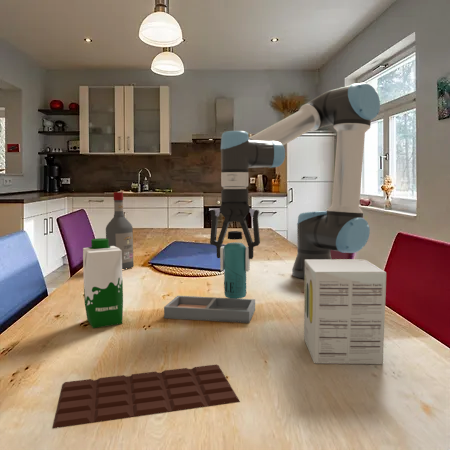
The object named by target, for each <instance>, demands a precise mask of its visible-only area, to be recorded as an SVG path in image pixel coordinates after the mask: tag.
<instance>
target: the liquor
mask: <svg viewBox="0 0 450 450" xmlns="http://www.w3.org/2000/svg"><path fill="white" fill-rule="evenodd" d="M123 200H124V192H123V191H114V192H113V207H114V209H113V211H114V212H113V213H114V214H113V217H112V219H111V220H110V221H109V222H108V223H107V225H106V227H105V238H106V239H108V241H109V246H115V247H117V248H119V249H120V250H122V269H126V268H131V267H133V268H134V265H135V264H134V234H133V230H134V228H133V225H132V224H131V222H130V221H129V220H128V219H127V218H126V217H125V213H124V201H123ZM131 269H132V268H131Z"/></svg>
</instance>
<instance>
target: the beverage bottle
mask: <svg viewBox="0 0 450 450" xmlns="http://www.w3.org/2000/svg"><path fill="white" fill-rule="evenodd" d="M227 239H228V240H233V241H234V242H227V244H226V245H224V246H225V247H224V270H223V271H224V273H223V277H224V278H223V288H224V289H223V290H224V296H225V297H224V298H237V299H245V298H246V295H247V292H248V291H247V272H248V271H246V247H247V246H246V245H245V244H244V243H242V242H237V240H242V239H243V231H240V230H229V231H228V232H227ZM235 240H236V242H235Z"/></svg>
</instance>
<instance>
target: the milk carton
mask: <svg viewBox="0 0 450 450" xmlns="http://www.w3.org/2000/svg"><path fill="white" fill-rule="evenodd" d="M90 245H91V246H88V247H83V248H82V260H83V261H82V262H83V263H82V265H83V266H82V267H83V268H82V269H83V270H82V271H83V297H84V308H85V309H84V310H85V314H86V320H87V322H88V324H89V325H90V327H91V328H92V329H95V328H96V329H97V328H101V327H102V328H103V327H109V326H117V325H122V324H123V317H124V316H123V312H124V289H123V288H124V285H123V279H124V278H123V270H122V250H120V249H119V248H117V247H115V246H109V241H108V239H106V237H105V238H103V237H102V238H101V237H100V238H92V239H91V244H90Z"/></svg>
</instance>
